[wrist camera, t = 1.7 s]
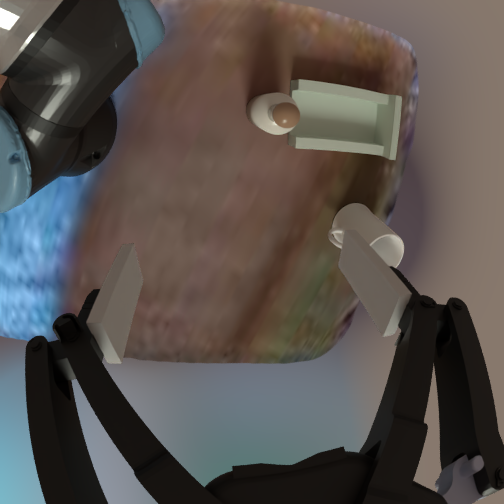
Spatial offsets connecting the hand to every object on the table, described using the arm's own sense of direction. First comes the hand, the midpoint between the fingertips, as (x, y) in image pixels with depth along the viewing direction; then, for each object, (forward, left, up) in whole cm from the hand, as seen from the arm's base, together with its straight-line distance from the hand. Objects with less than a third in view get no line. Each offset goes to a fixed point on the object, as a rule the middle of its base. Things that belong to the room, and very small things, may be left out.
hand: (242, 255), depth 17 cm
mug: (+22, -11, -29) cm, 38 cm away
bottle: (+6, +8, -29) cm, 30 cm away
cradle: (+18, +8, -29) cm, 34 cm away
